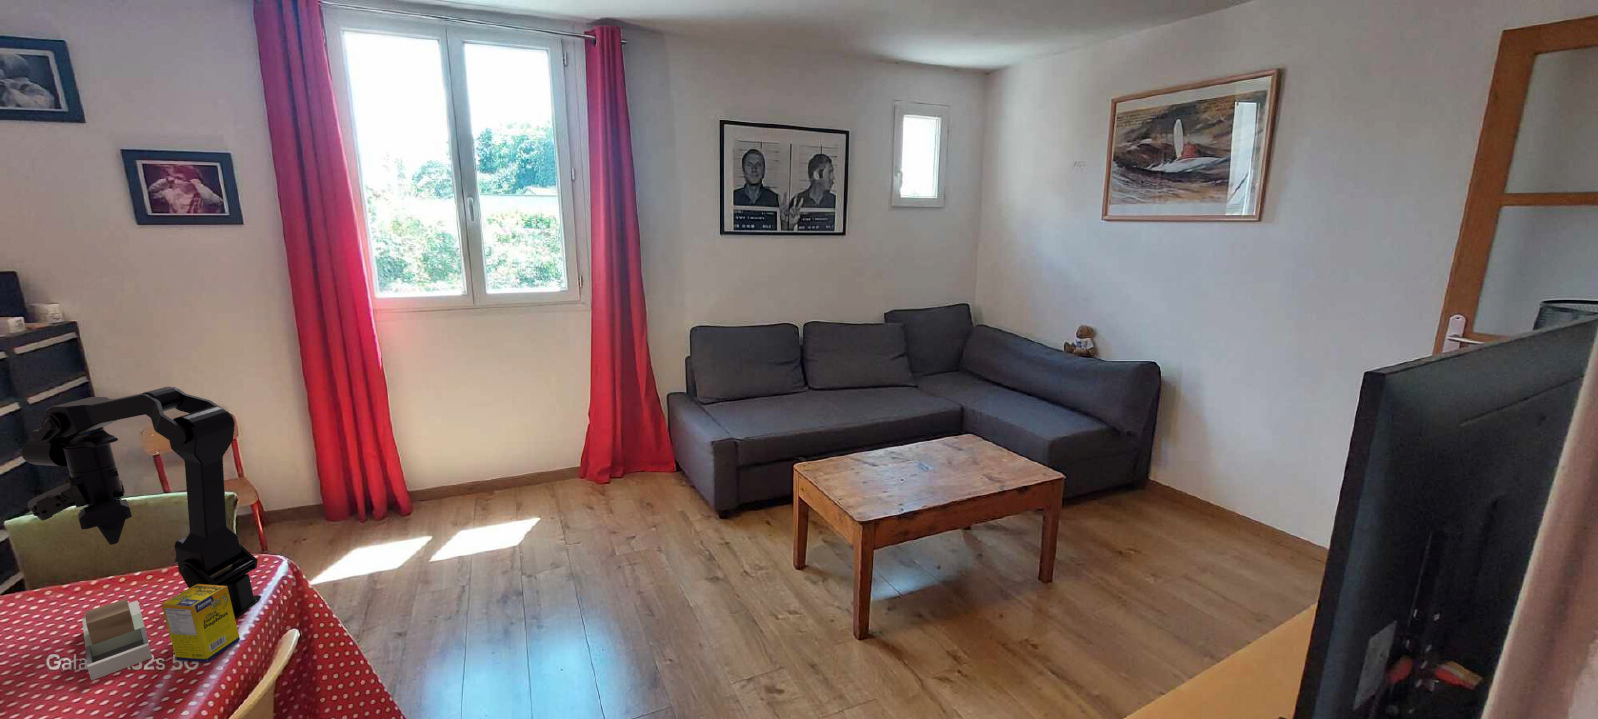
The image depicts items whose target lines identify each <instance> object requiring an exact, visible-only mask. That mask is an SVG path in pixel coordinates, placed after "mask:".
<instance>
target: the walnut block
mask: <svg viewBox="0 0 1598 719" xmlns="http://www.w3.org/2000/svg"><path fill="white" fill-rule="evenodd" d="M128 603H129V602H128V599H127V598H124V599H122V600H118V601H114V602H111V603H109V604H106V605H102V606H99V607H96V608H94V609H89V610H86V611H84V616H85V617H86V625H87V628H88V632H89V635H90V638H91V642H92V645H93V644H96V643H99V642H102V641H105V640H108V639H111V638H114V637H117V636H120V635H122V634H125V633H128V632H131V631H134V630H135V629H134V624H133V620H132V616H131V612H130V609H129V605H128Z"/></svg>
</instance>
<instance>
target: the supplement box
mask: <svg viewBox="0 0 1598 719" xmlns="http://www.w3.org/2000/svg"><path fill="white" fill-rule="evenodd" d="M161 608H162V612H163V615H164V619H165V623H166V626H167V631H168V634H169V637H170V642H171V644H172V649H173V652H174V656H175V660H176V661H178V662H179V661H180V662H181V661H182V662H195V663H197V662H198V663H207V664H208V663H209V662H211V661H212V660H213V659H215V658H216V657H218V656H219V655H221V654H222V653H224V652H225V651H226V650H228V649H230V648H231V647H232V646H233V645H235V644H237V643H238V642H240V640H241V638H240V633H239V630H238V626H237V621H236V618H235V617H234V612H233V608H232V604H231V600H230V596H229V592H228V587H227V586H219V585H204V584H196V585H194V586H193V587H191V588H187V589H185V590H184V591H182V592H181V593H178V594H177V595H175V596H173V597H171V598H169V599H168V600H166V601H163V602H162V604H161Z"/></svg>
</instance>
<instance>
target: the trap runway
mask: <svg viewBox="0 0 1598 719" xmlns="http://www.w3.org/2000/svg"><path fill="white" fill-rule="evenodd" d="M128 605H129V609H130V612H131V616H133V615H136V614H139V613H141V615H142V611H141V607H140V604H139V601H138V600H135V601H134V600H133V601H131V602H128ZM142 616H143V615H142ZM142 619H143V617H142ZM81 620H82V628H83V629H82V631H83V632H84V631H87V630H88V628H87V625H86V617H82V618H81ZM143 620H144V619H143ZM140 629H141V633H142V637H143V639H142V640H139V641H136V642H133V643H131V644H128V645H125V646H122V647H119V648H117V649H114V650H111V651H108V652H105V653H102V654H100V655H97V656H94V657H93V655H92V652H91V648H90V646H87V647H85V646H84V647H85V648H84V649H85V658H86V666H87V667H86V668H87V671H88V673H89V678H90V680H91V681H94V680H97V679H99V678H103V677H105V676H107V675H110V674H113V673H115V672H118V671H121V670H123V669H126V668H129V667H131V666H134V665H137V664H140V663H143V662H145V661H148V660H150V659H153V654H152V649H151V647H150V644H149V640H148V635H146V634H147V631H145V630H146V627H142V628H140Z"/></svg>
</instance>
